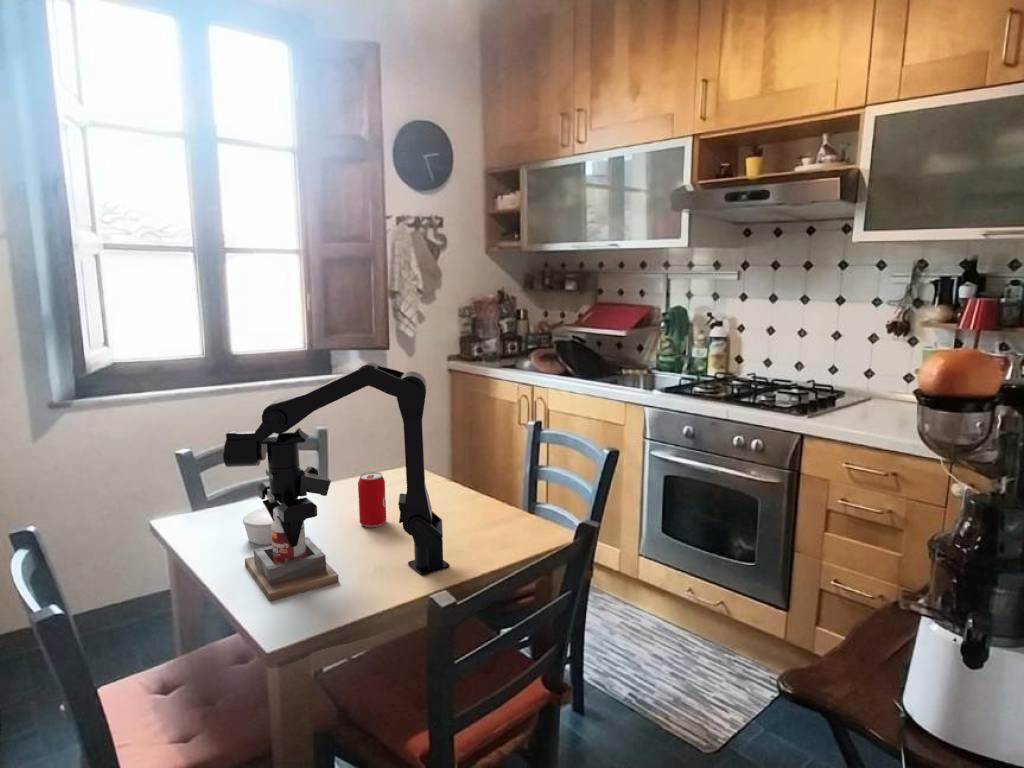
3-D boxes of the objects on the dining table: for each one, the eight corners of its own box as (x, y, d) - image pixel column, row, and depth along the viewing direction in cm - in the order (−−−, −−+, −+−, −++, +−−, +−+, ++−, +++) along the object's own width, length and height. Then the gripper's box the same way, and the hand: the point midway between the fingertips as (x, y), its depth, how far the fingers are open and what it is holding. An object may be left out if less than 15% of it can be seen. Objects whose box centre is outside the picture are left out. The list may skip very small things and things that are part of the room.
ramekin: (307, 534, 149) (306, 512, 148) (267, 551, 140) (266, 528, 139) (274, 524, 155) (273, 503, 154) (234, 541, 145) (232, 518, 144)
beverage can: (389, 519, 158) (388, 471, 155) (382, 529, 151) (380, 479, 149) (364, 518, 158) (362, 471, 156) (356, 528, 152) (353, 479, 150)
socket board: (338, 582, 125) (337, 560, 125) (269, 601, 118) (268, 578, 117) (308, 550, 140) (307, 530, 139) (245, 565, 133) (243, 544, 132)
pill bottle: (267, 566, 127) (262, 511, 125) (287, 554, 132) (284, 501, 131) (293, 571, 125) (289, 515, 123) (313, 558, 130) (309, 504, 129)
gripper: (342, 468, 122) (346, 546, 125) (309, 447, 137) (313, 517, 140) (281, 479, 116) (287, 561, 119) (254, 456, 131) (260, 529, 134)
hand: (289, 540), depth 128 cm, fingers closed on pill bottle, 6 cm apart
